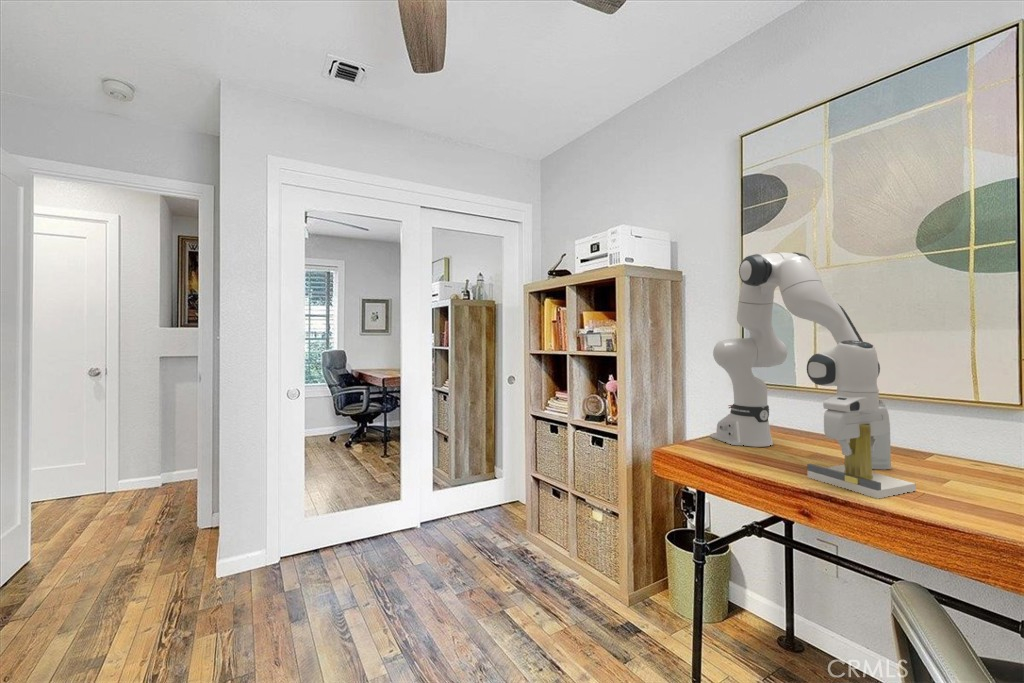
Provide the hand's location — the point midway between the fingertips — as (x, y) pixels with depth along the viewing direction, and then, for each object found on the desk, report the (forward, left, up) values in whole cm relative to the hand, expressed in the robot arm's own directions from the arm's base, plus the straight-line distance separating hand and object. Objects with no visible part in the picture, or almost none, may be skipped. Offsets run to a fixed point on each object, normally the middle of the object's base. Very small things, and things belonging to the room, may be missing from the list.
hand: (858, 453), depth 119 cm
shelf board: (0, 0, -8) cm, 8 cm away
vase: (0, 0, -6) cm, 6 cm away
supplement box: (-10, +20, -8) cm, 24 cm away
